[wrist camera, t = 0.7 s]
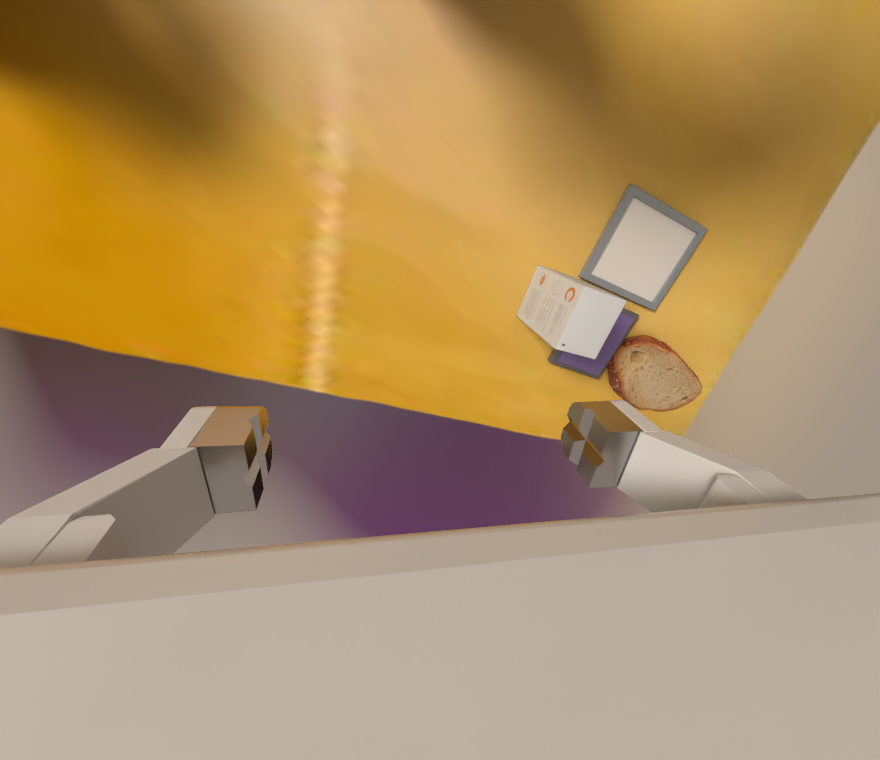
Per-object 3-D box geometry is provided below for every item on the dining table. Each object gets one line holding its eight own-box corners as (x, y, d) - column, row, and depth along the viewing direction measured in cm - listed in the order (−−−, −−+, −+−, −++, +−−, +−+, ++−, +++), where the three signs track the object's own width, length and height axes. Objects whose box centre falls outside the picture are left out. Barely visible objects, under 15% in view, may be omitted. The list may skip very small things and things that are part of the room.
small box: (550, 326, 57) (595, 361, 46) (515, 316, 55) (553, 350, 44) (574, 276, 54) (629, 300, 43) (537, 263, 52) (584, 285, 41)
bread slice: (694, 396, 70) (709, 407, 67) (606, 425, 70) (618, 436, 67) (704, 310, 62) (723, 317, 58) (604, 342, 61) (617, 351, 58)
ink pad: (586, 291, 55) (592, 294, 54) (634, 312, 59) (641, 316, 57) (547, 359, 60) (552, 364, 59) (594, 376, 63) (599, 380, 62)
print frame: (629, 184, 49) (632, 184, 48) (703, 228, 54) (708, 229, 53) (578, 276, 54) (581, 277, 53) (651, 309, 59) (654, 310, 58)
